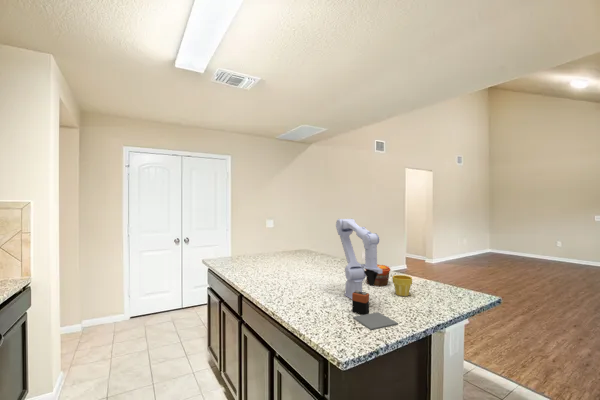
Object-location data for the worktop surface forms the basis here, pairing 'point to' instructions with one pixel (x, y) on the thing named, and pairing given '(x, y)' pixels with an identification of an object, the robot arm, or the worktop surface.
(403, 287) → the plant pot
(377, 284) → the food container
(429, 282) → the worktop surface
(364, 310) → the battery
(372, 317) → the mat
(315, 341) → the worktop surface
